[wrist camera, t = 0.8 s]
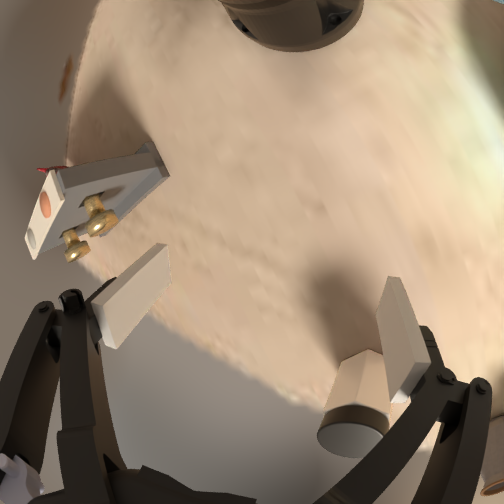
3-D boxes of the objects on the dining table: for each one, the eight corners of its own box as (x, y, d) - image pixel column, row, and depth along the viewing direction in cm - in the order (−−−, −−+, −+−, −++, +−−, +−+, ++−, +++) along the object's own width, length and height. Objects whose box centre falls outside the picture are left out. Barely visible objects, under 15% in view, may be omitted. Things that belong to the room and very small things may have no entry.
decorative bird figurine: (95, 183, 46) (51, 196, 38) (58, 169, 52) (22, 179, 44) (96, 168, 45) (50, 179, 37) (58, 157, 51) (21, 166, 43)
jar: (330, 378, 38) (302, 442, 28) (354, 340, 34) (330, 411, 24) (381, 399, 35) (365, 465, 25) (410, 364, 31) (403, 438, 21)
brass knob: (87, 177, 35) (62, 183, 31) (99, 160, 32) (72, 166, 29) (110, 230, 36) (85, 240, 32) (124, 216, 33) (97, 227, 30)
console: (94, 208, 49) (20, 235, 35) (152, 141, 37) (47, 158, 23) (106, 234, 50) (33, 267, 36) (170, 176, 38) (63, 205, 24)
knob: (66, 210, 41) (45, 218, 37) (73, 198, 38) (51, 206, 35) (85, 255, 42) (65, 265, 38) (94, 246, 40) (72, 256, 36)
